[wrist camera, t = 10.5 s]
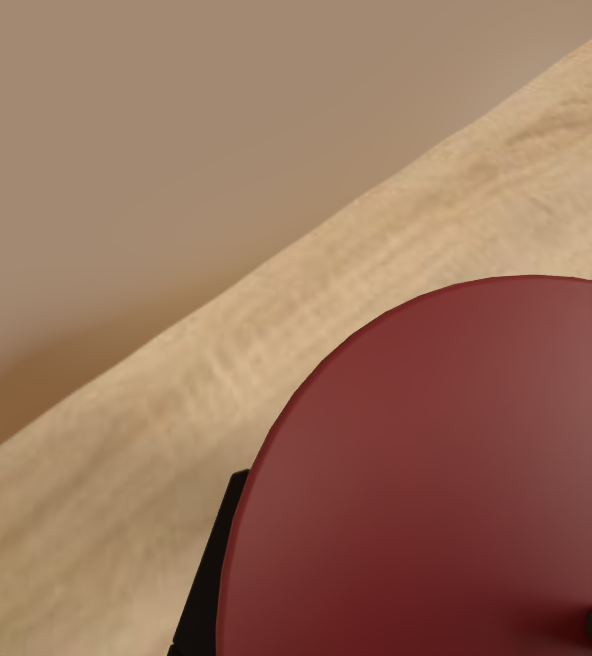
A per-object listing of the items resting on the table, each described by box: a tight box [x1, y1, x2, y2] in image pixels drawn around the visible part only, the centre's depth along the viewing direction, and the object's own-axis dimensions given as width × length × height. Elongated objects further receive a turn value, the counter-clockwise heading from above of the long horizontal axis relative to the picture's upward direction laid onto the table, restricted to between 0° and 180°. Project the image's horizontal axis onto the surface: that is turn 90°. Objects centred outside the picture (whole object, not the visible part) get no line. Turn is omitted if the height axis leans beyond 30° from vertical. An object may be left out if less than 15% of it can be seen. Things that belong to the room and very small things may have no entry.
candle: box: [216, 275, 592, 656], centre depth 9 cm, size 6×6×14 cm
